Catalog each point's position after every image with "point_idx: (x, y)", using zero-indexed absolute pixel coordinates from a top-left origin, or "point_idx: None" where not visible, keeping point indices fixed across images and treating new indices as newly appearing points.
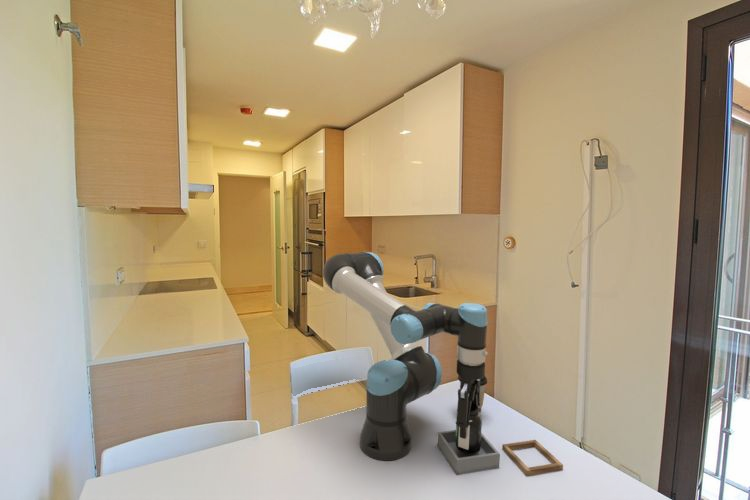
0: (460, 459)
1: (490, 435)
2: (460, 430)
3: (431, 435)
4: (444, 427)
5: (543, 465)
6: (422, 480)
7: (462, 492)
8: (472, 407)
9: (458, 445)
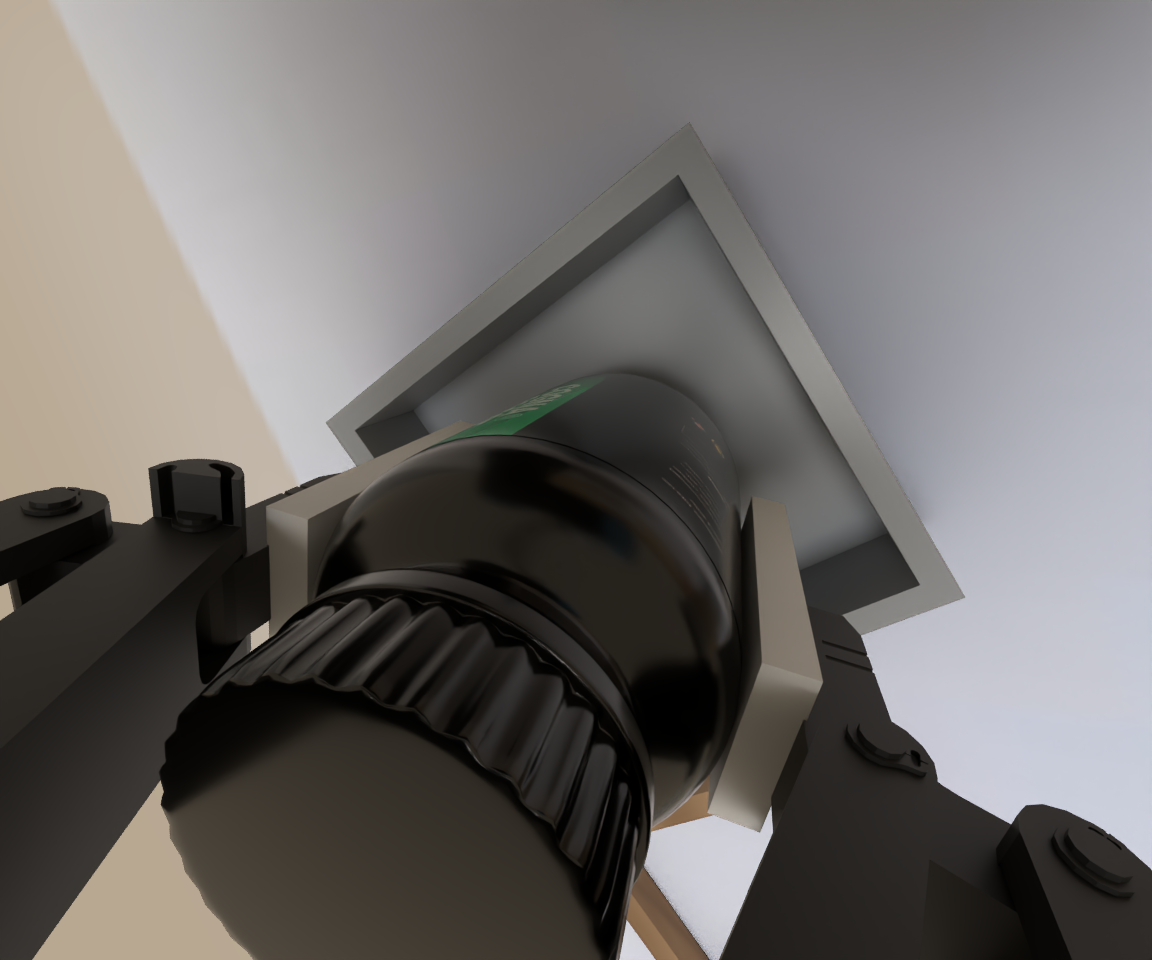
0: (347, 448)
1: (1039, 666)
2: (255, 511)
3: (876, 32)
4: (1128, 153)
5: (656, 931)
6: (243, 167)
7: (286, 447)
8: (347, 948)
9: (456, 426)
